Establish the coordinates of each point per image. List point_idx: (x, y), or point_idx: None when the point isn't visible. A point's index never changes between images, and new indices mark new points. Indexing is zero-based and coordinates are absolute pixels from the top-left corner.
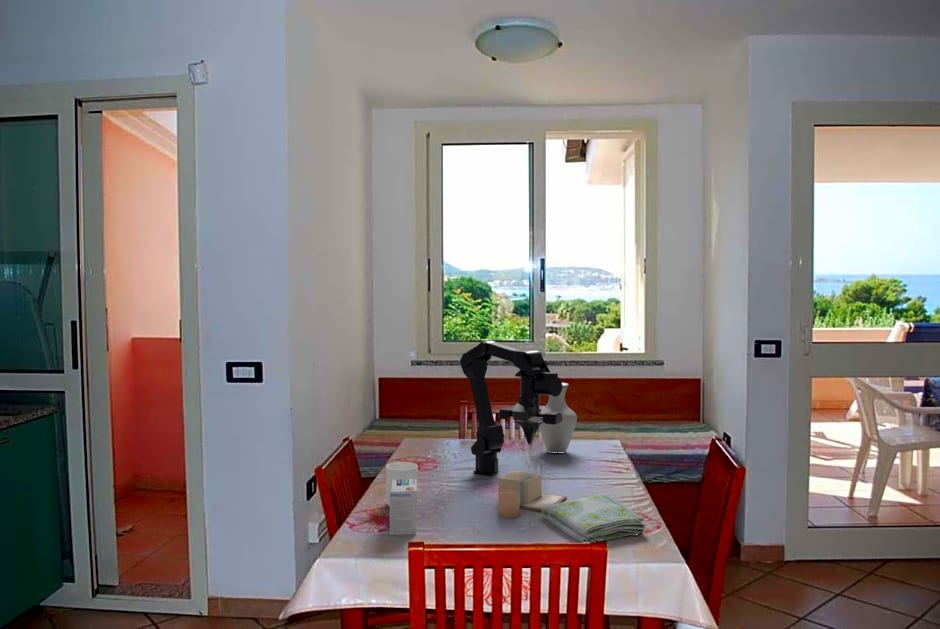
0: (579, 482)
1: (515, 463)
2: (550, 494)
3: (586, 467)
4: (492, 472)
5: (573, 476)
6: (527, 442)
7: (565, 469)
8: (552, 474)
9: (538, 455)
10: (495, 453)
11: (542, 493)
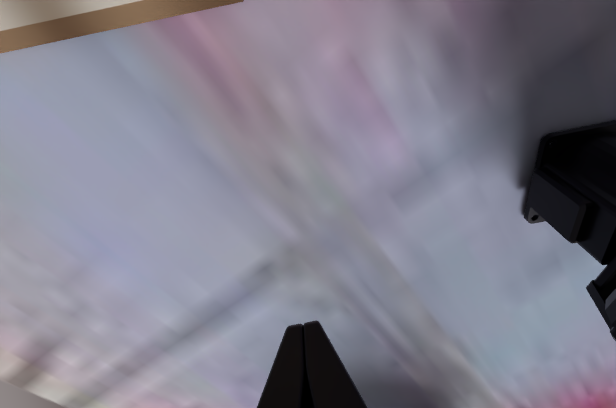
0: (152, 297)
1: (495, 320)
2: (32, 34)
3: None
4: (544, 163)
5: (226, 331)
6: (324, 332)
7: None
8: (304, 307)
9: (456, 402)
10: (609, 256)
11: (75, 11)
